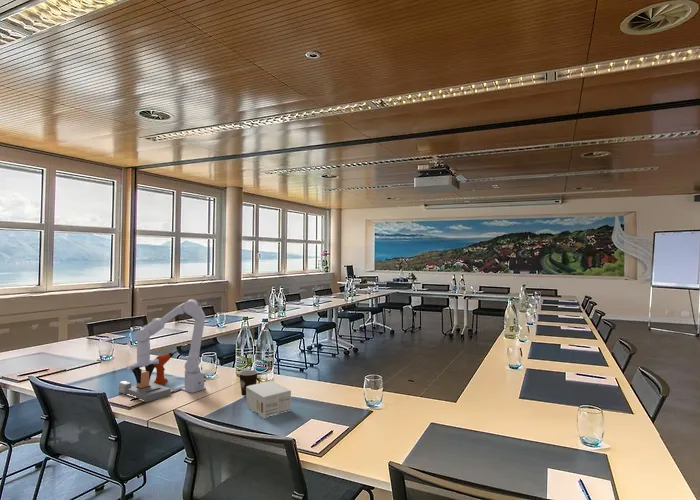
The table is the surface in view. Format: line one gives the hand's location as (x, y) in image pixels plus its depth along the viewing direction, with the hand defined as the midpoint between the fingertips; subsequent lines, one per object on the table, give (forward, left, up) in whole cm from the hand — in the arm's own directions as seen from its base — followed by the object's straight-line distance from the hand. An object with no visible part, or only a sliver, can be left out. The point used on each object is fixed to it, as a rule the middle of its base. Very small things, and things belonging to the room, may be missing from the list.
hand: (143, 381), depth 199 cm
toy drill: (+8, -17, -6) cm, 20 cm away
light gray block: (+7, +5, -6) cm, 11 cm away
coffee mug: (-44, -28, -6) cm, 52 cm away
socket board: (-5, 0, -5) cm, 7 cm away
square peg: (0, 0, -2) cm, 2 cm away
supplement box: (-64, -20, -6) cm, 68 cm away
